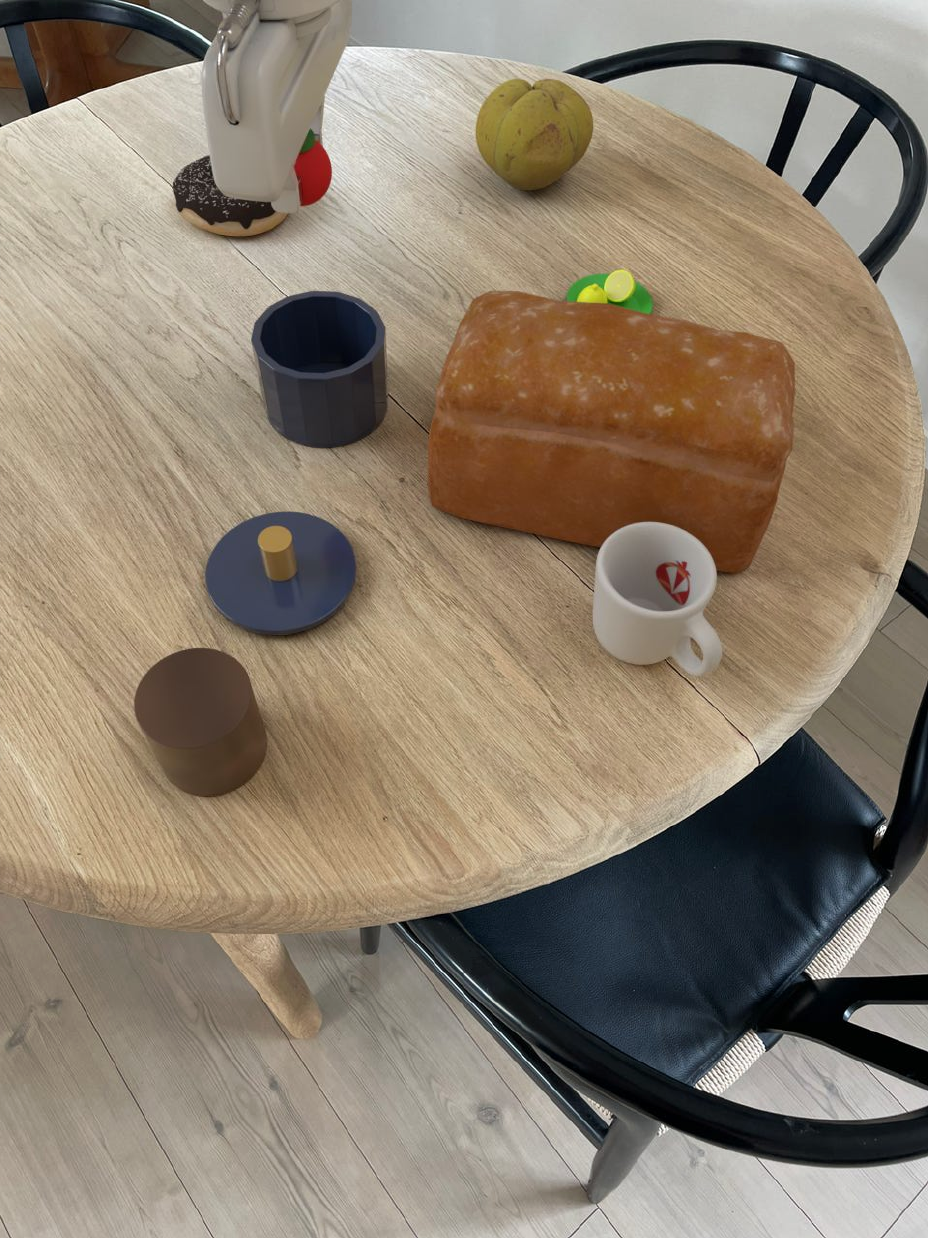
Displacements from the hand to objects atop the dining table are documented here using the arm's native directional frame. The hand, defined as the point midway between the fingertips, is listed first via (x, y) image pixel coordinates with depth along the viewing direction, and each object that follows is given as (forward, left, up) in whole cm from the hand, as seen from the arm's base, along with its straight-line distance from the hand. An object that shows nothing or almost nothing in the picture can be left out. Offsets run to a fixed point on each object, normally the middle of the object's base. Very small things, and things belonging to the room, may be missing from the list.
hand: (299, 182), depth 65 cm
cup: (+15, -31, -21) cm, 40 cm away
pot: (0, +1, -21) cm, 21 cm away
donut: (0, +30, -21) cm, 37 cm away
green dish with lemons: (+29, +4, -21) cm, 36 cm away
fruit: (+30, +25, -21) cm, 44 cm away
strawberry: (0, 0, -1) cm, 1 cm away
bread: (+18, -16, -21) cm, 32 cm away
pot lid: (-8, -16, -20) cm, 27 cm away
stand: (-16, -28, -21) cm, 38 cm away
